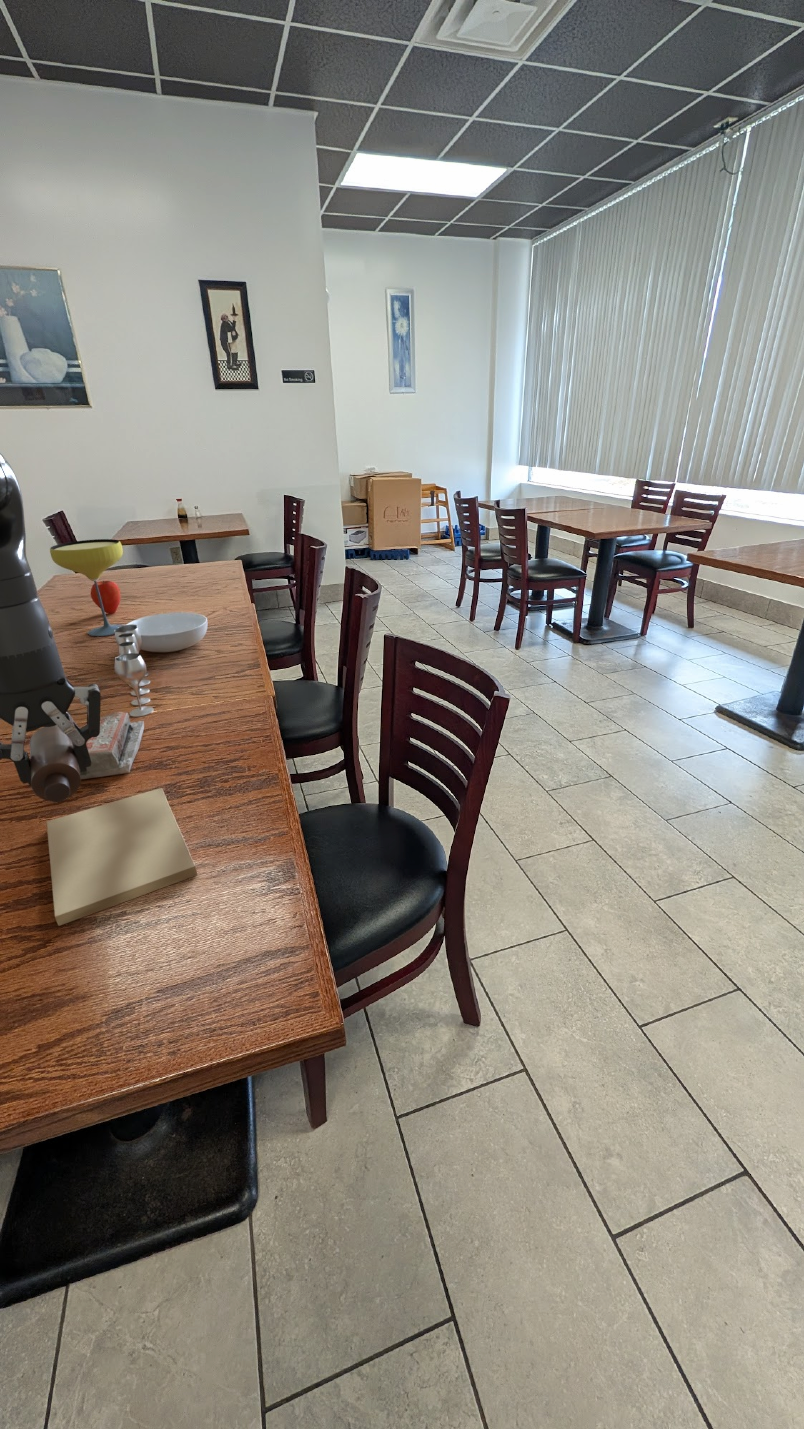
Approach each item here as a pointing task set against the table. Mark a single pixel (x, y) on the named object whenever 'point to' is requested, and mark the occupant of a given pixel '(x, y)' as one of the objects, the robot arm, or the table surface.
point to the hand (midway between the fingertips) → (58, 775)
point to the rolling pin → (53, 765)
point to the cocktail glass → (90, 566)
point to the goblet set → (132, 666)
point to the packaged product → (113, 746)
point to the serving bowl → (170, 631)
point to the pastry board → (115, 854)
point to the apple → (107, 595)
